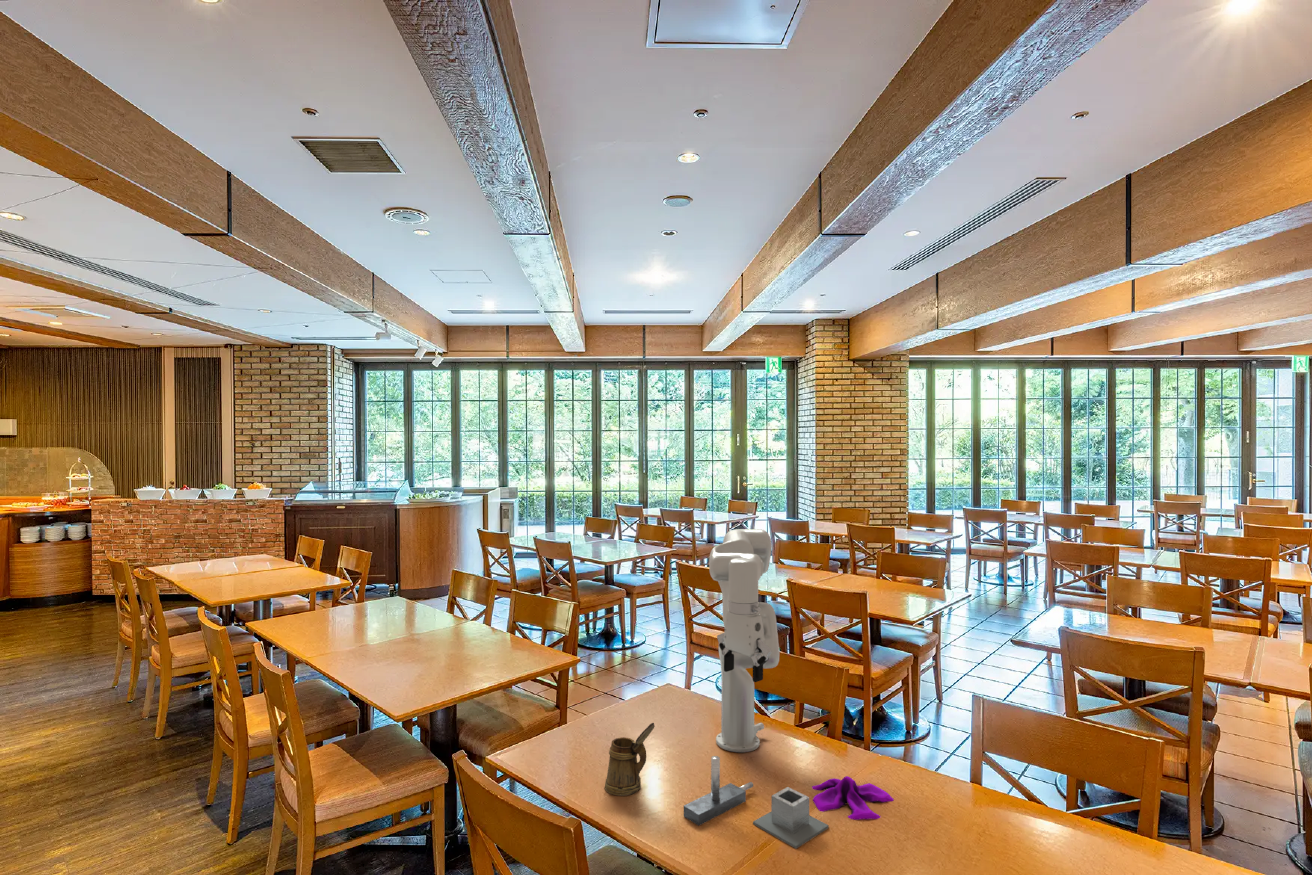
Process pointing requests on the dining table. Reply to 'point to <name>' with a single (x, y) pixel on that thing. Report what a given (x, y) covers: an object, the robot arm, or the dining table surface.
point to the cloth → (849, 797)
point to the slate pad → (789, 838)
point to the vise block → (715, 798)
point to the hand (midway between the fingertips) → (743, 675)
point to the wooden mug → (626, 764)
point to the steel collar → (790, 810)
